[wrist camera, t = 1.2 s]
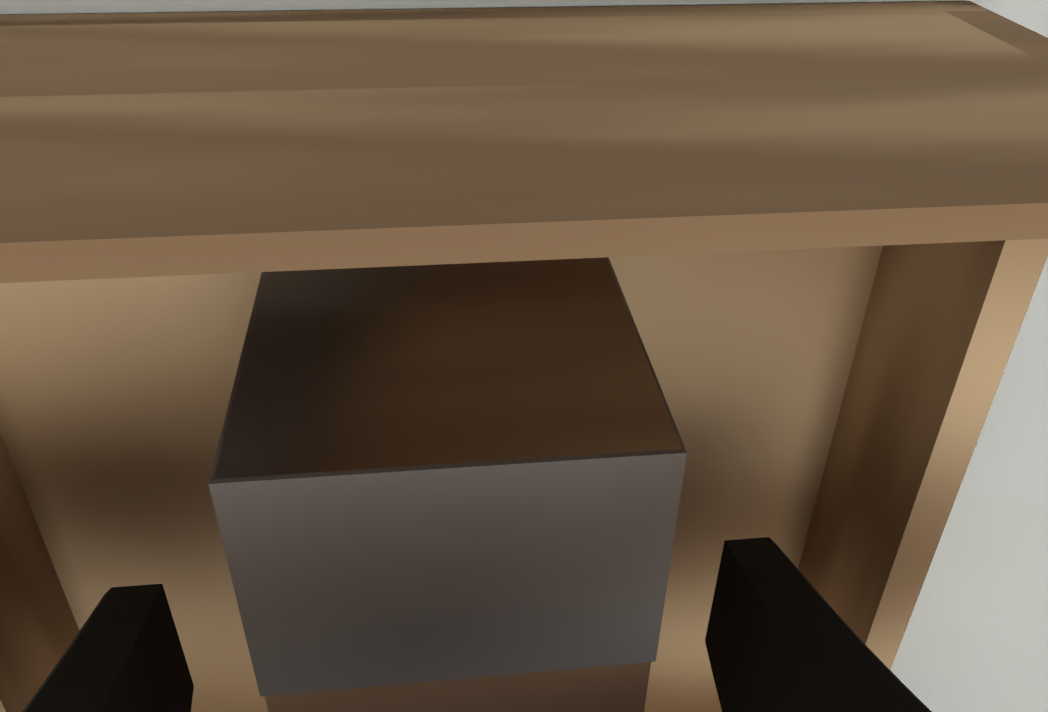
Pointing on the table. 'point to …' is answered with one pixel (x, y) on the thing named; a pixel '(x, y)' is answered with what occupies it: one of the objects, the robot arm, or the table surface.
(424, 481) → the box
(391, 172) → the brown wooden open box
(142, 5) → the table surface
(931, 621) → the table surface
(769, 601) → the robot arm
